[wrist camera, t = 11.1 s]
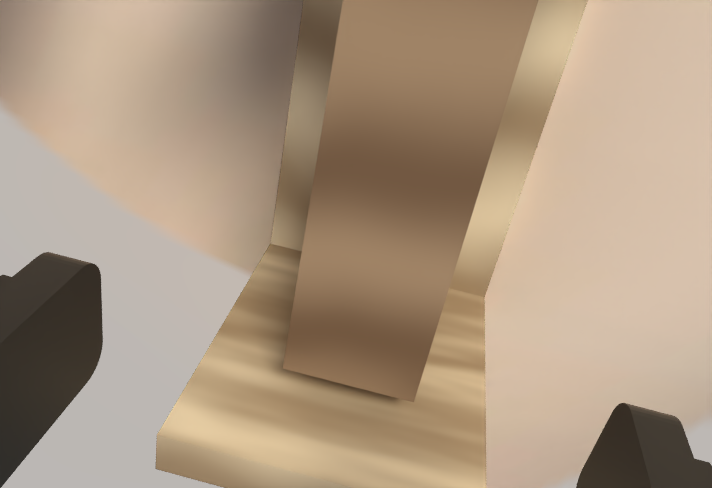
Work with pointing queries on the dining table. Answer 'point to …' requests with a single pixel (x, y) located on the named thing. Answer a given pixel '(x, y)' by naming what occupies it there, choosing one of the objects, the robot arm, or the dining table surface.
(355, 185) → the shelf board
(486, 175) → the peg jig
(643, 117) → the dining table surface
